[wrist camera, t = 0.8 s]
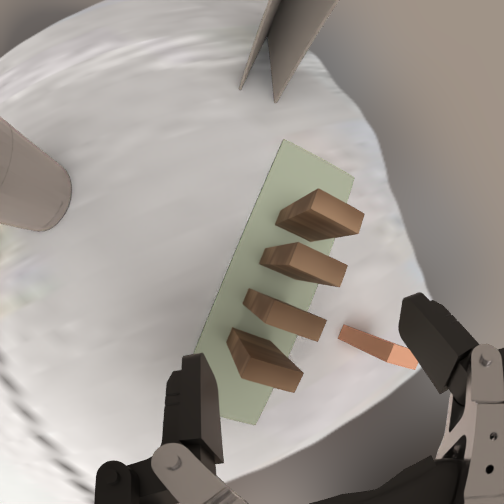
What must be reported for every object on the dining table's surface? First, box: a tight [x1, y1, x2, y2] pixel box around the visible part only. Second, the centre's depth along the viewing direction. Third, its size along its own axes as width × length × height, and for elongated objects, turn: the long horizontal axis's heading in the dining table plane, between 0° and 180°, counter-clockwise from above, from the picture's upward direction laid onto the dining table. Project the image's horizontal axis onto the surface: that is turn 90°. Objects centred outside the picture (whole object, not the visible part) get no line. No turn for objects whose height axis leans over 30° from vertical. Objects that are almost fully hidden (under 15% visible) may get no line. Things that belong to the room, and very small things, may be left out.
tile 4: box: [259, 242, 348, 287], centre depth 28 cm, size 2×5×11 cm, turn 67°
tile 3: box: [242, 288, 327, 342], centre depth 28 cm, size 2×5×11 cm, turn 67°
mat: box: [194, 139, 354, 425], centre depth 34 cm, size 36×11×1 cm, turn 157°
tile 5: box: [275, 188, 364, 242], centre depth 29 cm, size 2×5×11 cm, turn 67°
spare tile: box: [338, 325, 418, 370], centre depth 31 cm, size 2×5×11 cm, turn 67°
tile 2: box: [226, 327, 304, 393], centre depth 27 cm, size 2×5×11 cm, turn 67°
